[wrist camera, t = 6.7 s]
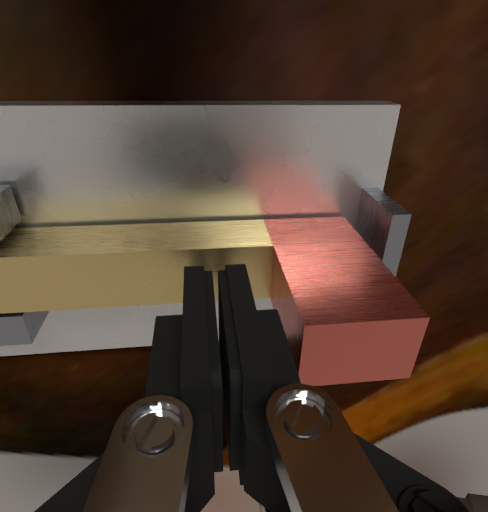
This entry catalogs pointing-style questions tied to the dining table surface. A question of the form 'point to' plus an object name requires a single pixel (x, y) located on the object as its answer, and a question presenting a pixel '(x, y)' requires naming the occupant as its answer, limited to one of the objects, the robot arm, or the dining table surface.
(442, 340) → the dining table surface
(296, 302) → the lock pin
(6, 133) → the station
